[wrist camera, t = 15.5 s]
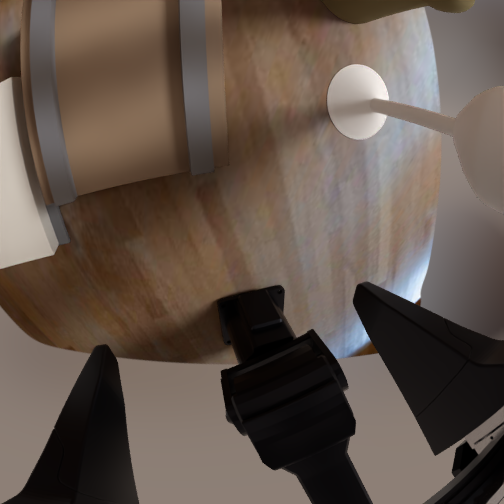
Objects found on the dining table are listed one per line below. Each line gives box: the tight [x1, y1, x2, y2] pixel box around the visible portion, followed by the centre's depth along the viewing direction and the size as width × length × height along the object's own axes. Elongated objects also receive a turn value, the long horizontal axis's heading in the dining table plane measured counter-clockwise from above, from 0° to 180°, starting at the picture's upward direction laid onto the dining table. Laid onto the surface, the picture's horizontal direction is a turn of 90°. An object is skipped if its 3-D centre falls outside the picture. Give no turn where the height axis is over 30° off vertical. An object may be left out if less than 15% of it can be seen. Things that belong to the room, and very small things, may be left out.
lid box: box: [20, 0, 229, 207], centre depth 12 cm, size 13×11×5 cm
